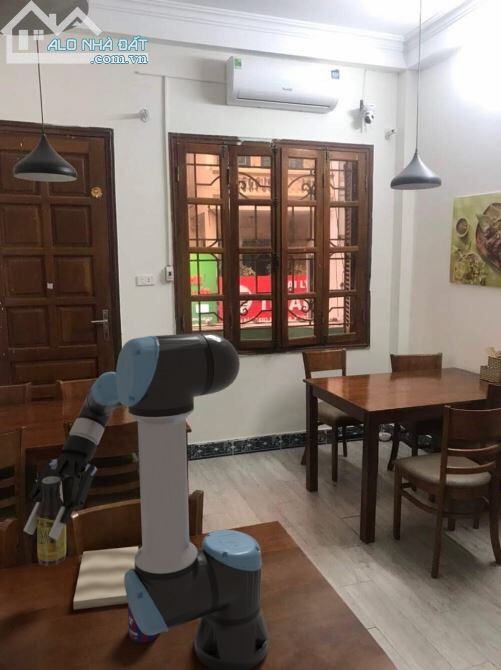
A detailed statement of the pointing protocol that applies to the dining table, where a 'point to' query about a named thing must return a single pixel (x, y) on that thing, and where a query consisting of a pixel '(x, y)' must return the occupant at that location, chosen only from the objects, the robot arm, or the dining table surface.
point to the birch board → (103, 577)
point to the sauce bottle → (50, 524)
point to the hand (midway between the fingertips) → (40, 535)
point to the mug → (137, 630)
